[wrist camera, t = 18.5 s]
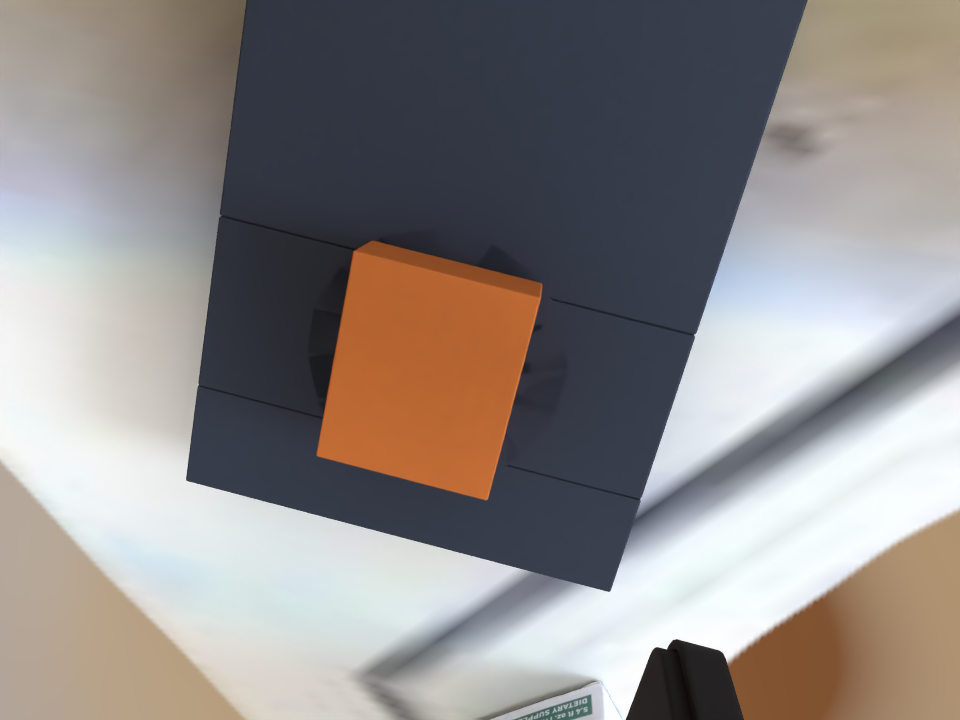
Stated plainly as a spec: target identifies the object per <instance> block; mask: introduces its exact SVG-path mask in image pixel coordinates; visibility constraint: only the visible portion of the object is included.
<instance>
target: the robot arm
mask: <svg viewBox="0 0 960 720" xmlns="http://www.w3.org/2000/svg"><path fill="white" fill-rule="evenodd" d="M626 720H744V719H743V715H742V712H741V708H740V705H739V702H738V699H737V695H736V692H735V689H734V685H733V682H732V679H731V675H730V672H729V669H728V665H727V662H726V659H725V657H724V654H723V653H722V652H721V651H719V650H715V649H711V648H707V647H704V646H700V645H696V644H692V643H688V642H685V641H681V640H677V639H676V640H673V641H672V642H671V643H670V645H669V646H668V649H667V650H666V649H662V648H658V647H656V648H654V650H653V651H652V653H651V655H650V657H649V660H648V662H647V665H646V668H645V670H644V673H643V676H642V678H641V681H640V684H639V686H638V689H637V692H636V694H635V697H634V700H633V702H632V705H631V708H630V710H629V713H628V716H627V718H626Z"/></svg>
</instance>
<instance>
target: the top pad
mask: <svg viewBox="0 0 960 720" xmlns="http://www.w3.org/2000/svg"><path fill="white" fill-rule="evenodd" d="M541 293H542V283H539V282H536V281H532V280H528V279H524V278H520V277H516V276H512V275H508V274H504V273H500V272H496V271H492V270H488V269H484V268H480V267H476V266H472V265H468V264H464V263H460V262H456V261H452V260H448V259H444V258H440V257H436V256H432V255H428V254H424V253H420V252H416V251H412V250H408V249H404V248H400V247H396V246H392V245H389V244H385V243H381V242H377V241H370V242H369V243H367V244H365V245H363V246H362V247H360V248H358V249H357V250H355V251H354V252H353V256H352V262H351V267H350V273H349V278H348V284H347V289H346V295H345V300H344V306H343V311H342V317H341V322H340V328H339V333H338V339H337V344H336V349H335V355H334V360H333V366H332V371H331V377H330V382H329V388H328V393H327V399H326V404H325V410H324V415H323V421H322V426H321V432H320V437H319V443H318V448H317V456H318V457H322V458H326V459H329V460H333V461H337V462H341V463H345V464H349V465H352V466H356V467H360V468H364V469H368V470H372V471H375V472H379V473H383V474H387V475H391V476H395V477H398V478H402V479H406V480H410V481H414V482H418V483H421V484H425V485H429V486H433V487H437V488H441V489H444V490H448V491H452V492H456V493H460V494H464V495H467V496H471V497H475V498H479V499H483V500H487V499H488V497H489V493H490V489H491V486H492V482H493V478H494V474H495V471H496V467H497V463H498V459H499V455H500V452H501V448H502V444H503V440H504V437H505V433H506V429H507V425H508V421H509V418H510V414H511V410H512V406H513V402H514V399H515V395H516V391H517V387H518V384H519V380H520V376H521V372H522V368H523V365H524V361H525V357H526V353H527V350H528V346H529V342H530V338H531V334H532V331H533V327H534V323H535V319H536V316H537V312H538V308H539V304H540V300H541Z"/></svg>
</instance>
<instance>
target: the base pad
mask: <svg viewBox="0 0 960 720" xmlns="http://www.w3.org/2000/svg"><path fill="white" fill-rule="evenodd" d="M806 3H807V0H247V1H246V9H245V17H244V25H243V33H242V41H241V49H240V57H239V65H238V73H237V81H236V89H235V97H234V105H233V113H232V121H231V129H230V137H229V145H228V153H227V161H226V169H225V177H224V185H223V193H222V201H221V209H220V215H222V216H220V218H219V223H218V231H217V239H216V247H215V255H214V263H213V271H212V279H211V287H210V295H209V303H208V311H207V319H206V327H205V335H204V343H203V351H202V359H201V367H200V375H199V386H198V389H197V397H196V405H195V413H194V421H193V429H192V437H191V445H190V453H189V461H188V469H187V477H186V480H187V481H189V482H193V483H197V484H201V485H205V486H208V487H212V488H216V489H220V490H224V491H227V492H231V493H235V494H239V495H243V496H246V497H250V498H254V499H258V500H262V501H266V502H269V503H273V504H277V505H281V506H285V507H288V508H292V509H296V510H300V511H304V512H307V513H311V514H315V515H319V516H323V517H326V518H330V519H334V520H338V521H342V522H345V523H349V524H353V525H357V526H361V527H364V528H368V529H372V530H376V531H380V532H383V533H387V534H391V535H395V536H399V537H402V538H406V539H410V540H414V541H418V542H421V543H425V544H429V545H433V546H437V547H440V548H444V549H448V550H452V551H456V552H459V553H463V554H467V555H471V556H475V557H478V558H482V559H486V560H490V561H494V562H497V563H501V564H505V565H509V566H513V567H516V568H520V569H524V570H528V571H532V572H535V573H539V574H543V575H547V576H551V577H555V578H558V579H562V580H566V581H570V582H574V583H577V584H581V585H585V586H589V587H593V588H596V589H600V590H604V591H608V592H610V591H611V588H612V585H613V582H614V579H615V576H616V573H617V570H618V567H619V564H620V561H621V558H622V555H623V552H624V549H625V546H626V543H627V540H628V537H629V534H630V531H631V528H632V525H633V522H634V519H635V516H636V513H637V510H638V507H639V504H640V498H641V497H642V494H643V491H644V488H645V486H646V483H647V480H648V477H649V474H650V471H651V468H652V465H653V462H654V459H655V456H656V453H657V450H658V447H659V444H660V441H661V438H662V435H663V432H664V429H665V426H666V423H667V420H668V417H669V414H670V411H671V408H672V405H673V402H674V399H675V396H676V393H677V390H678V387H679V384H680V381H681V378H682V375H683V372H684V369H685V366H686V363H687V360H688V357H689V354H690V351H691V348H692V345H693V342H694V339H695V336H694V334H696V332H697V330H698V327H699V324H700V321H701V318H702V315H703V312H704V309H705V306H706V303H707V300H708V297H709V294H710V291H711V288H712V285H713V282H714V279H715V276H716V273H717V270H718V267H719V264H720V261H721V258H722V255H723V252H724V249H725V246H726V243H727V240H728V237H729V234H730V231H731V228H732V225H733V222H734V219H735V216H736V213H737V210H738V207H739V204H740V201H741V198H742V195H743V192H744V189H745V186H746V183H747V180H748V177H749V174H750V171H751V168H752V165H753V162H754V159H755V156H756V153H757V150H758V147H759V144H760V141H761V138H762V135H763V132H764V129H765V126H766V123H767V120H768V117H769V114H770V111H771V108H772V105H773V102H774V99H775V96H776V93H777V90H778V87H779V84H780V81H781V78H782V75H783V72H784V69H785V66H786V63H787V60H788V57H789V54H790V51H791V48H792V45H793V42H794V39H795V36H796V33H797V30H798V27H799V24H800V21H801V18H802V15H803V12H804V9H805V6H806ZM370 241H377V242H381V243H385V244H389V245H392V246H396V247H400V248H404V249H408V250H412V251H416V252H420V253H424V254H428V255H432V256H436V257H440V258H444V259H448V260H452V261H456V262H460V263H464V264H468V265H472V266H476V267H480V268H484V269H488V270H492V271H496V272H500V273H504V274H508V275H512V276H516V277H520V278H524V279H528V280H532V281H536V282H539V283H542V293H541V300H540V304H539V308H538V312H537V316H536V319H535V323H534V327H533V331H532V334H531V338H530V342H529V346H528V350H527V353H526V357H525V361H524V365H523V368H522V372H521V376H520V380H519V384H518V387H517V391H516V395H515V399H514V402H513V406H512V410H511V414H510V418H509V421H508V425H507V429H506V433H505V437H504V440H503V444H502V448H501V452H500V455H499V459H498V463H497V467H496V471H495V474H494V478H493V482H492V486H491V489H490V493H489V497H488V499H487V500H483V499H479V498H475V497H471V496H467V495H464V494H460V493H456V492H452V491H448V490H444V489H441V488H437V487H433V486H429V485H425V484H421V483H418V482H414V481H410V480H406V479H402V478H398V477H395V476H391V475H387V474H383V473H379V472H375V471H372V470H368V469H364V468H360V467H356V466H352V465H349V464H345V463H341V462H337V461H333V460H329V459H326V458H322V457H318V456H317V448H318V443H319V437H320V432H321V426H322V421H323V415H324V410H325V404H326V399H327V393H328V388H329V382H330V377H331V371H332V366H333V360H334V355H335V349H336V344H337V339H338V333H339V328H340V322H341V317H342V311H343V306H344V300H345V295H346V289H347V284H348V278H349V273H350V267H351V262H352V256H353V252H354V251H355V250H357V249H358V248H360V247H362V246H363V245H365V244H367V243H369V242H370Z"/></svg>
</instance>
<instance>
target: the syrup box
mask: <svg viewBox="0 0 960 720" xmlns="http://www.w3.org/2000/svg"><path fill="white" fill-rule="evenodd" d="M490 720H622V719H621V717H620V715H619V714H618V712H617V710H616V708H615V706H614V705H613V703H612V701H611V699H610V697H609V695H608V694H607V692H606V690H605V688H604V687H603V685H602V683H601V682H600V681H596V682H593V683H590V684H587V685H586V686H584V687H583V688H582V689H578V690H575V691H572V692H569V693H567V694H564V695H560V696H556V697H553V698H550V699H547V700H544V701H541V702H538V703H535V704H532V705H530V706H527V707H524V708H521V709H518V710H515V711H512V712H510V713H507V714H504V715H501V716H498V717H495V718H493V719H490Z"/></svg>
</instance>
